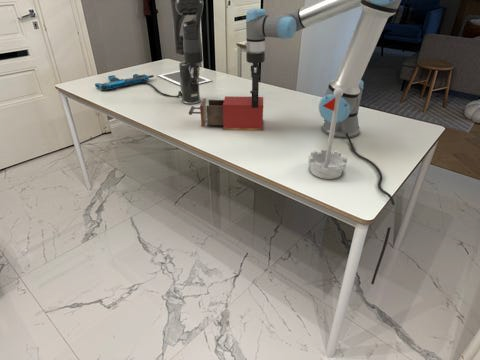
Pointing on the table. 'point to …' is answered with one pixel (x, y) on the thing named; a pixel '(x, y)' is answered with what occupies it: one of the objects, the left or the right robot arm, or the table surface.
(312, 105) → the table surface
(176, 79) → the tablet
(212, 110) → the drawer
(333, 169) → the flag stand
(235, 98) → the cabinet
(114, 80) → the submachine gun
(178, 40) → the left robot arm
